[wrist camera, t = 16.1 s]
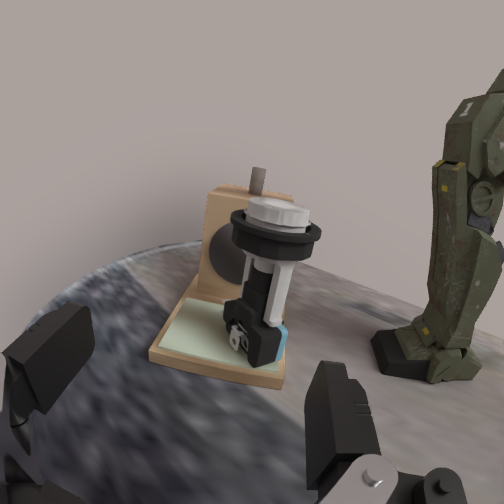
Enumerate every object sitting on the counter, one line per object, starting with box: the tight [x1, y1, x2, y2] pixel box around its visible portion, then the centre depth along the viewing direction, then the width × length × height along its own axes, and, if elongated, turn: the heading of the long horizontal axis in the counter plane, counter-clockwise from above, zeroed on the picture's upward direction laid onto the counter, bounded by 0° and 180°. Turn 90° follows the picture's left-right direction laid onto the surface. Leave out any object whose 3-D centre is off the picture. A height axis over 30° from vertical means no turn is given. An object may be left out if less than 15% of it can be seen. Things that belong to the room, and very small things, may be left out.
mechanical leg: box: [371, 69, 504, 383], centre depth 17 cm, size 14×7×30 cm, turn 81°
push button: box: [221, 197, 322, 368], centre depth 19 cm, size 7×5×10 cm
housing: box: [149, 167, 294, 390], centre depth 23 cm, size 16×9×12 cm, turn 174°
